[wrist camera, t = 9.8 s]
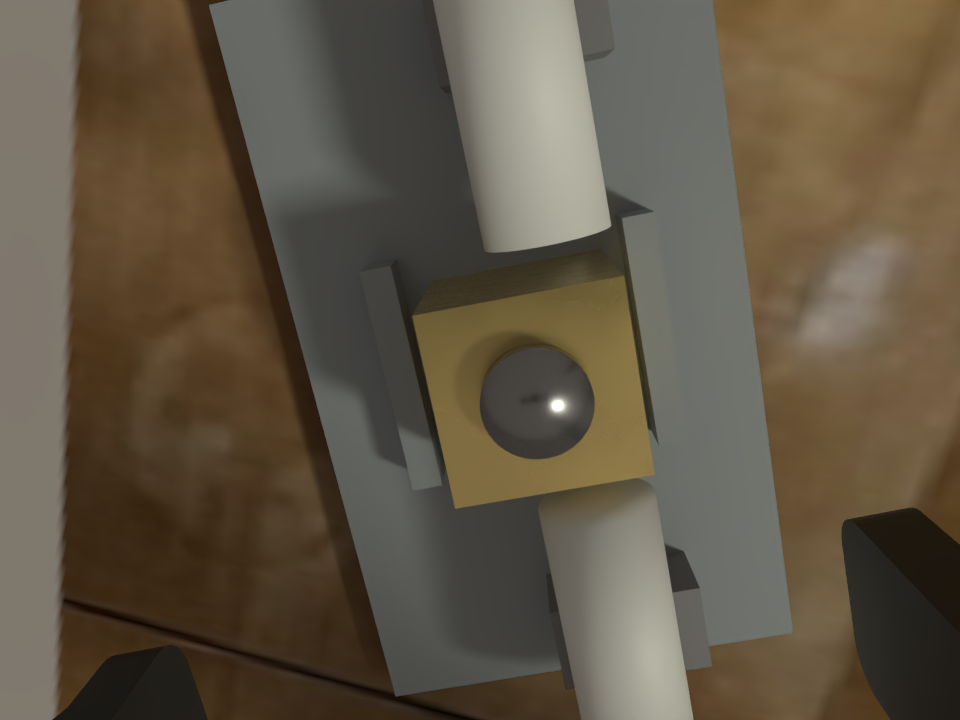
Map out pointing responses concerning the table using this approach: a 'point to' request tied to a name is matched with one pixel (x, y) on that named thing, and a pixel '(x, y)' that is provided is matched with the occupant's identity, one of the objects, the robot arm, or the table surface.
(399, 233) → the twin roller base
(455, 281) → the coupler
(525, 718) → the table surface
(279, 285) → the table surface
